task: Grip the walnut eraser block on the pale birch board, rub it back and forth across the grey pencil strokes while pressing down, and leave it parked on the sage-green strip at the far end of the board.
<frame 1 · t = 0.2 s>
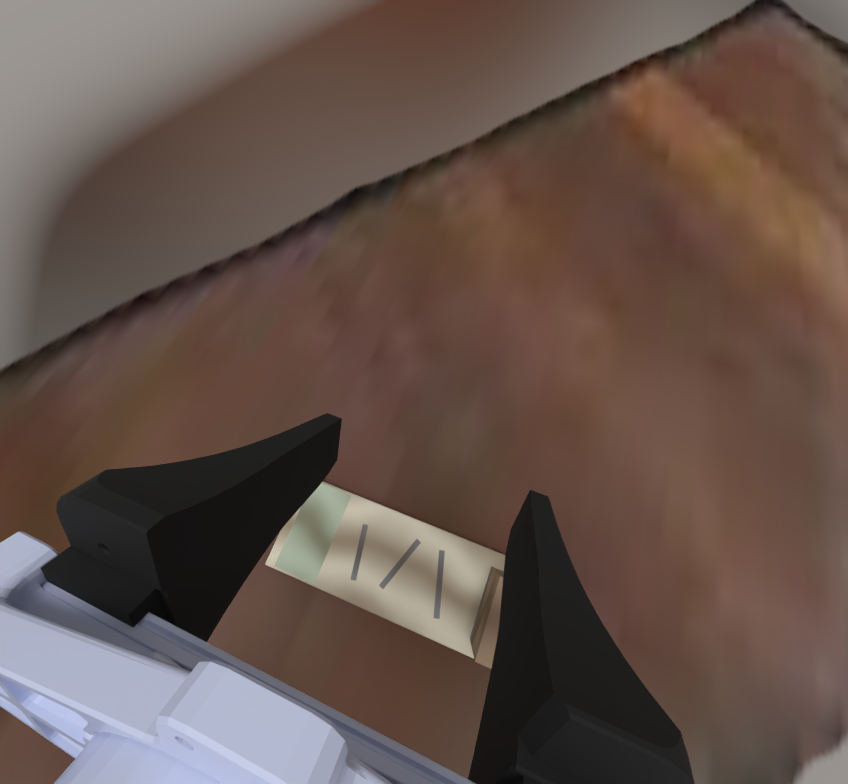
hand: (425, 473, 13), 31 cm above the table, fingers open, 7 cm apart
birch board: (404, 566, 41), on the table
eraser block: (504, 611, 38), point 1 cm above the table, touching birch board
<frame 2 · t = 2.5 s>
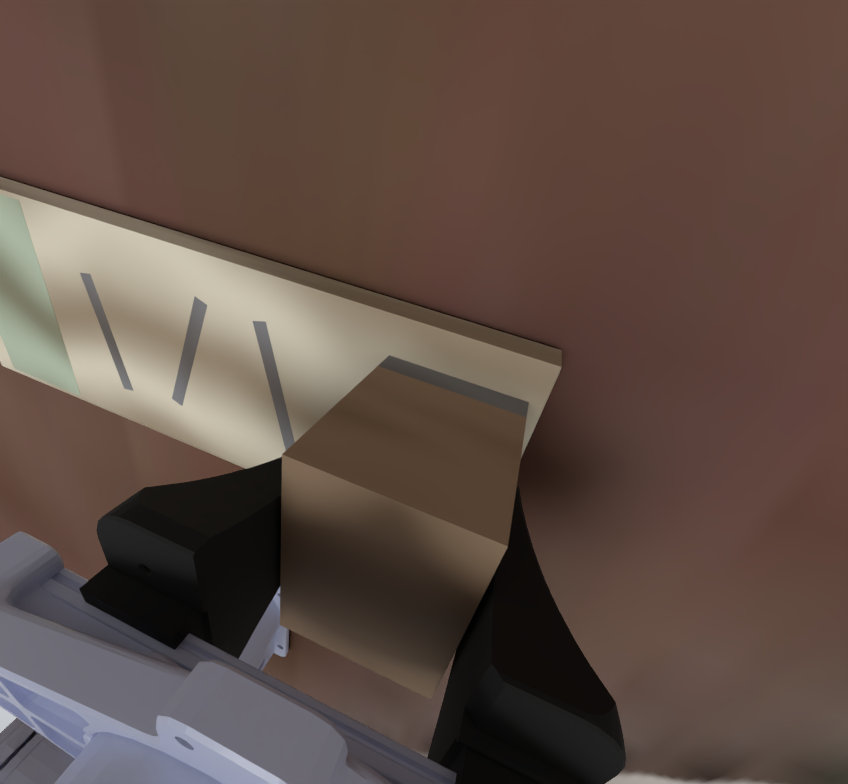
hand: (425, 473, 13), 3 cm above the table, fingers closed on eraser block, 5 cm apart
birch board: (224, 354, 18), on the table
eraser block: (434, 455, 14), point 1 cm above the table, touching birch board, gripper
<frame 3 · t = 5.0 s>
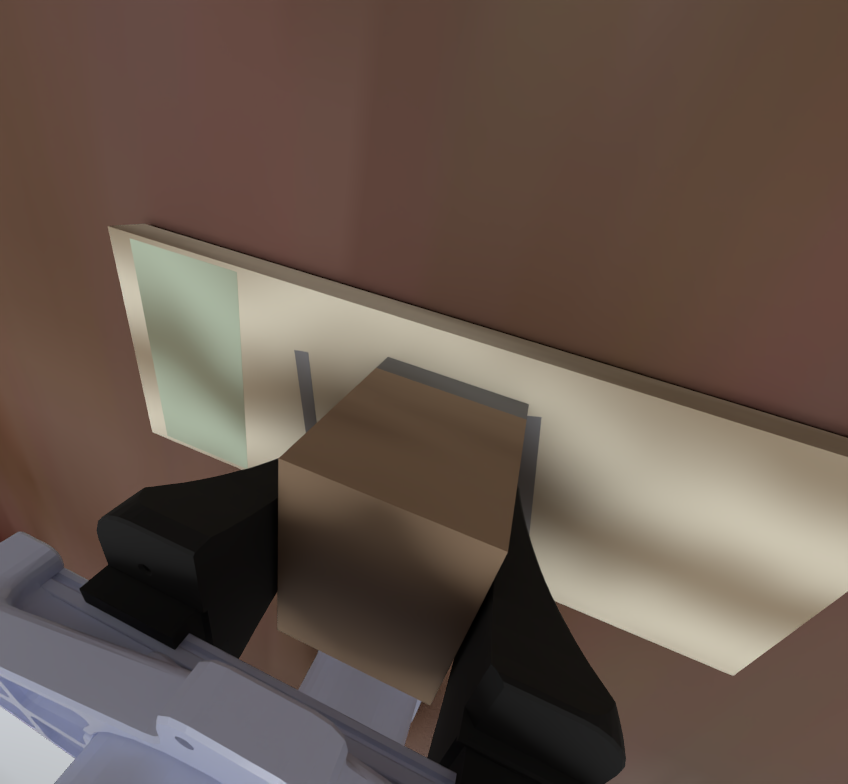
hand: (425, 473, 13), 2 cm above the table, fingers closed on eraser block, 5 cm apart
birch board: (434, 432, 16), on the table
eraser block: (433, 457, 14), point 2 cm above the table, touching gripper
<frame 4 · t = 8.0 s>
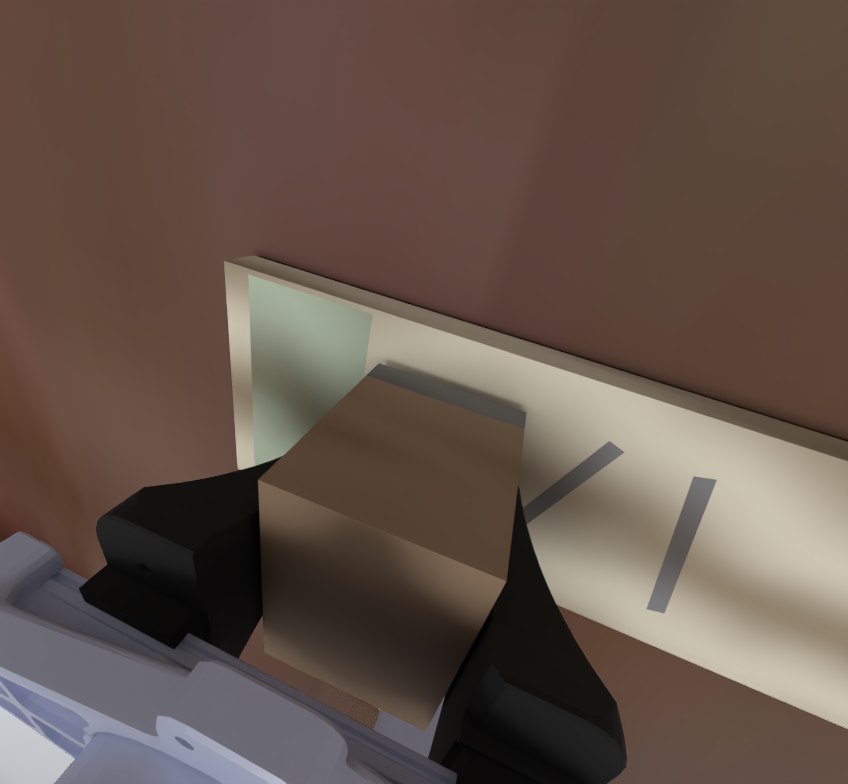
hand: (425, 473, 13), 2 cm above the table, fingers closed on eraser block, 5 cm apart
birch board: (561, 480, 15), on the table
eraser block: (427, 467, 14), point 2 cm above the table, touching gripper
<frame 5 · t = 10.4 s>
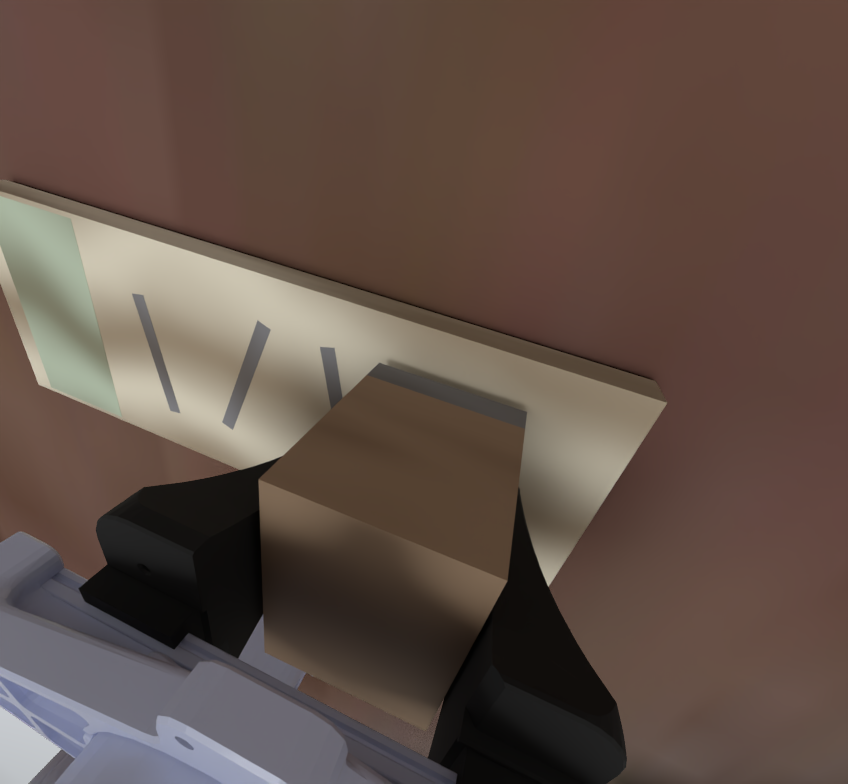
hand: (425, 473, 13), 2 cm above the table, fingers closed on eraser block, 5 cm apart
birch board: (277, 376, 17), on the table
eraser block: (428, 466, 14), point 2 cm above the table, touching gripper
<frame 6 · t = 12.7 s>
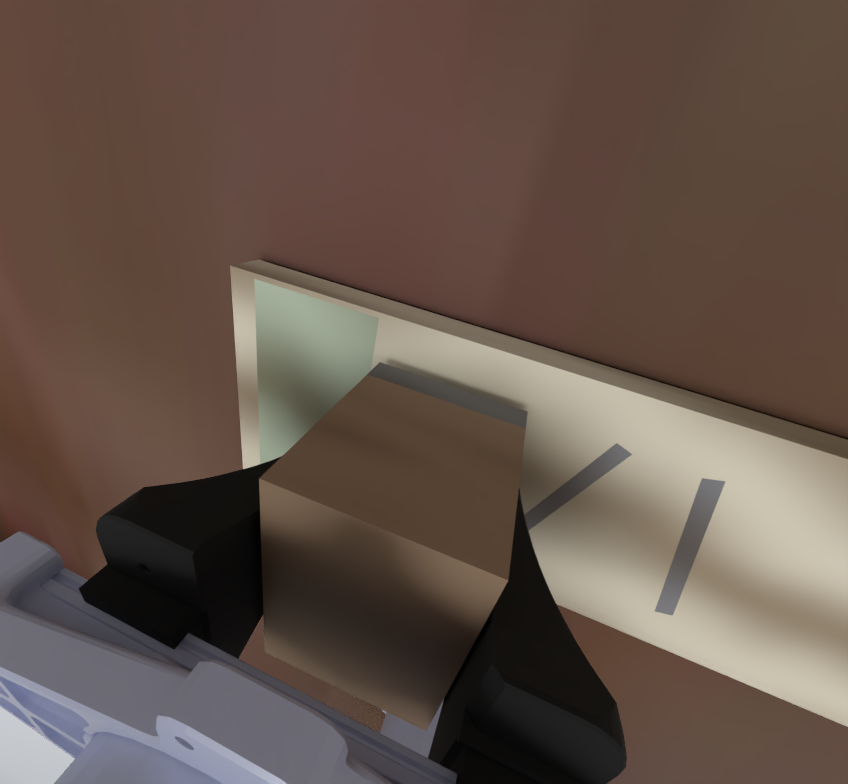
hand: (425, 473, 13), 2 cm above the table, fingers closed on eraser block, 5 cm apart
birch board: (567, 482, 15), on the table
eraser block: (428, 466, 14), point 2 cm above the table, touching gripper
when the fingers open (3 cm above the table, at t = 14.7 s): eraser block stays where it is, resting on birch board.
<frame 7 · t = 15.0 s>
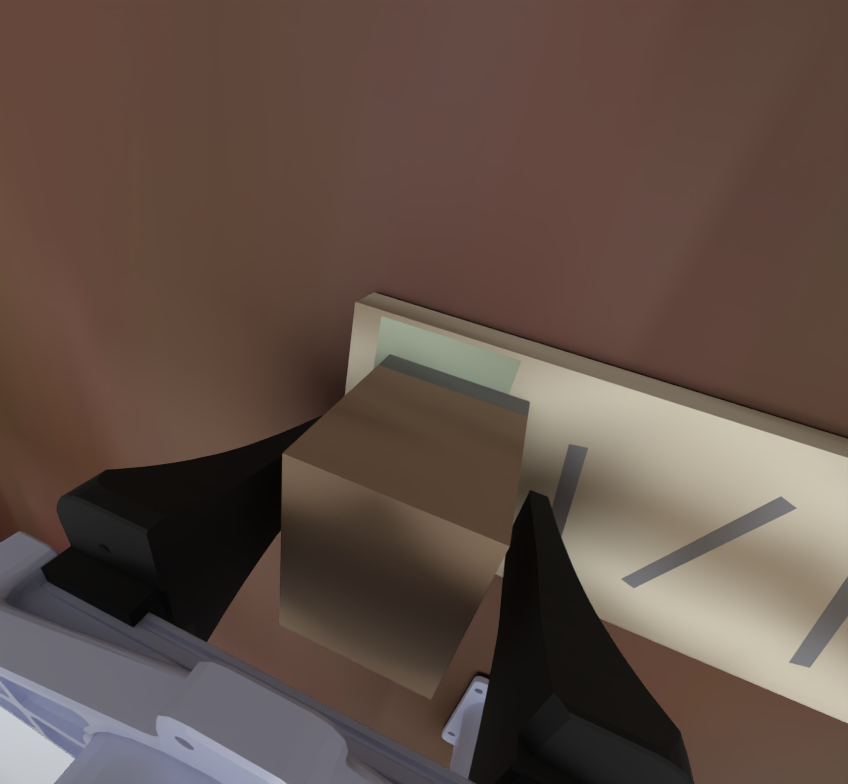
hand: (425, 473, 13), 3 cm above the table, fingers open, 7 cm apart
birch board: (694, 526, 14), on the table
eraser block: (434, 454, 14), point 2 cm above the table, touching birch board
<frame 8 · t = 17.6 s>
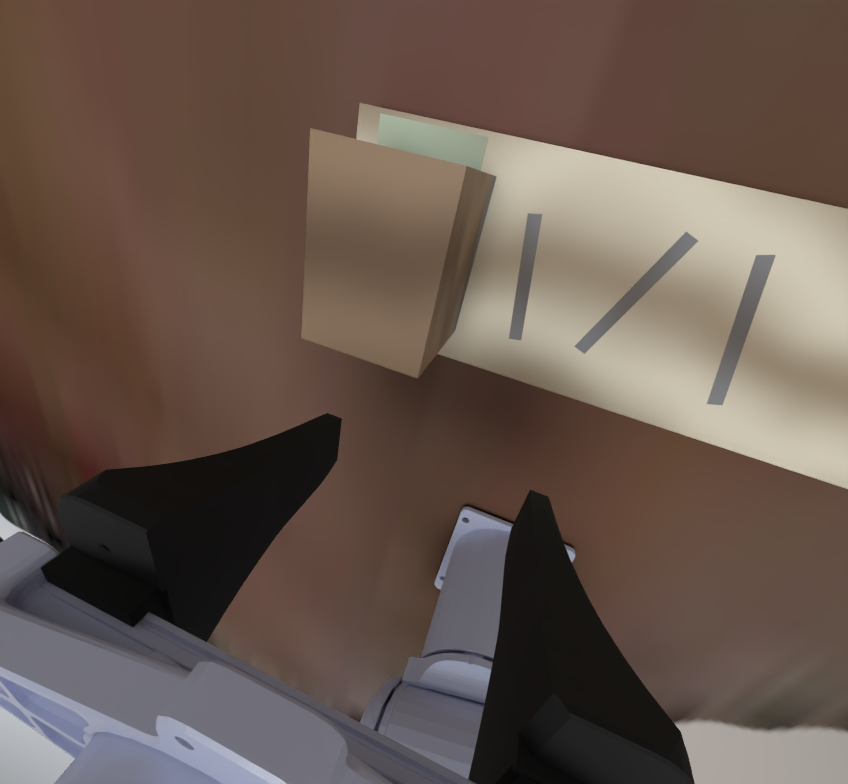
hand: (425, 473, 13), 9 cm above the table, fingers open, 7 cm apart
birch board: (632, 300, 17), on the table
eraser block: (423, 247, 18), point 2 cm above the table, touching birch board
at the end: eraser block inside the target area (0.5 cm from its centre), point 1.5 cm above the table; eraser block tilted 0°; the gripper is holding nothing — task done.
